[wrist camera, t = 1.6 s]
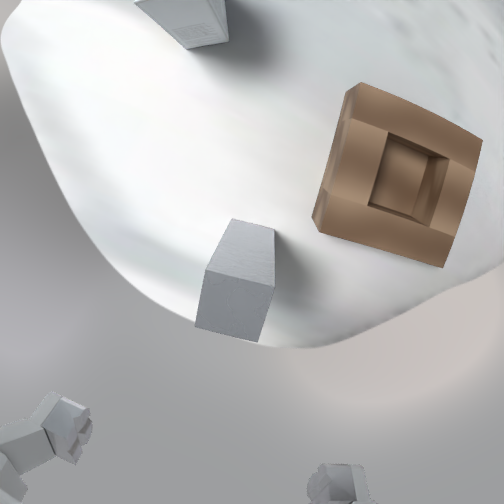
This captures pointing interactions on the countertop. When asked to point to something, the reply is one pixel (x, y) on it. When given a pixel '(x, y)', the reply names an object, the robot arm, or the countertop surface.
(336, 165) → the walnut socket block
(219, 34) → the skincare box
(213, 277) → the metal peg
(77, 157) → the countertop surface
